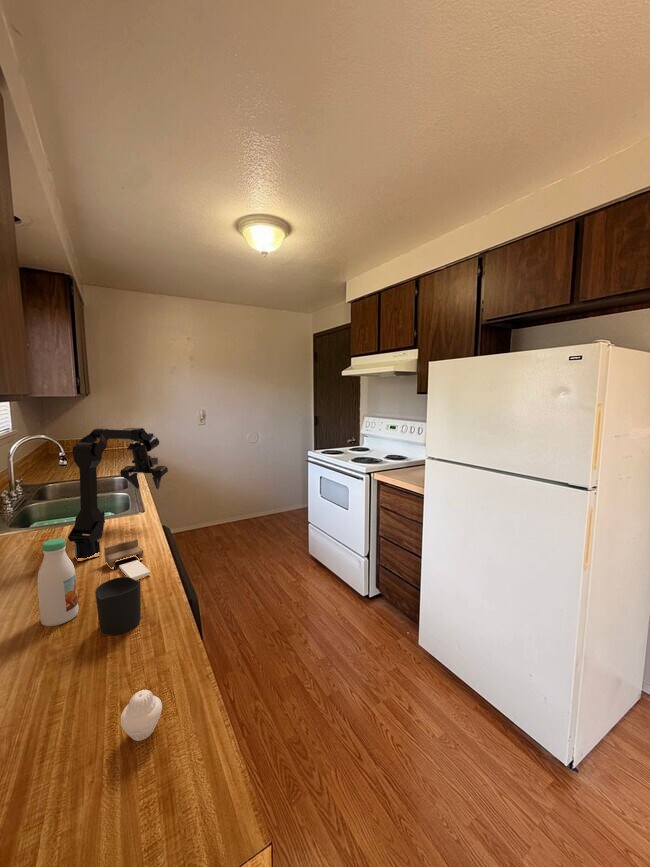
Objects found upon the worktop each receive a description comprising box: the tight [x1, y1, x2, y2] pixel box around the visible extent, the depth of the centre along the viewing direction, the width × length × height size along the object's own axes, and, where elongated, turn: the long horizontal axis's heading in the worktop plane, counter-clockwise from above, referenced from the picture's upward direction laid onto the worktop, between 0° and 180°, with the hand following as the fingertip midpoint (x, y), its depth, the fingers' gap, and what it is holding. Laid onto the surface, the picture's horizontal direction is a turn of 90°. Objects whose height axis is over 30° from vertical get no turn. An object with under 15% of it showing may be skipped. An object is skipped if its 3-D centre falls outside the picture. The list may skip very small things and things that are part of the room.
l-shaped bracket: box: [103, 538, 144, 568], centre depth 121 cm, size 10×6×6 cm, turn 135°
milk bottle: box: [37, 538, 79, 627], centre depth 90 cm, size 8×8×20 cm
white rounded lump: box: [120, 689, 163, 742], centre depth 59 cm, size 6×6×7 cm
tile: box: [118, 559, 152, 580], centre depth 114 cm, size 6×12×2 cm, turn 45°
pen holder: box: [94, 576, 142, 636], centre depth 87 cm, size 9×9×10 cm
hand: (148, 488), depth 158 cm, fingers open, 9 cm apart
